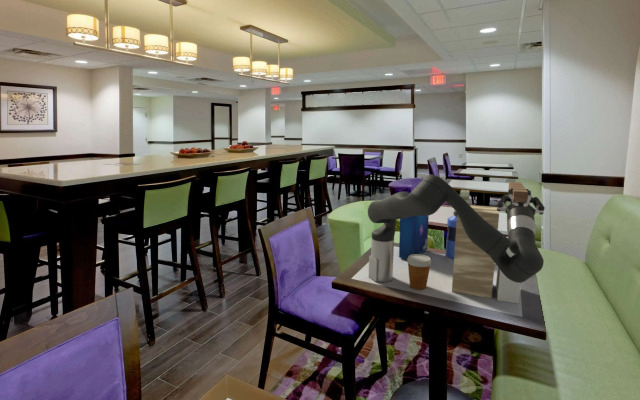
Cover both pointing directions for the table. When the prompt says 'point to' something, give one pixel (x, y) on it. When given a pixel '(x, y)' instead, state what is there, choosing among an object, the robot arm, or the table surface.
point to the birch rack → (473, 257)
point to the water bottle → (451, 236)
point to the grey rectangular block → (507, 286)
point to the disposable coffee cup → (418, 270)
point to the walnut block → (518, 191)
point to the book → (413, 236)
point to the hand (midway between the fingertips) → (519, 190)
